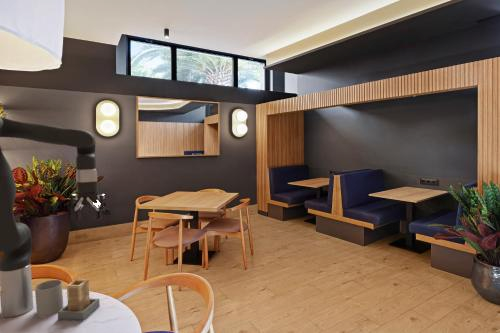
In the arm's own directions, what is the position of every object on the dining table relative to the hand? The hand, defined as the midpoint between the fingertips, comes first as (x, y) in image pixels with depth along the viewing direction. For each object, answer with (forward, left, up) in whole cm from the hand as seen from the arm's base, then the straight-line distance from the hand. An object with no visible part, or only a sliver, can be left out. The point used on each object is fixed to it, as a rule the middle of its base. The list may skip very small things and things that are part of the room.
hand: (89, 219), depth 121 cm
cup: (-15, -3, -32) cm, 36 cm away
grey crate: (-6, -12, -32) cm, 35 cm away
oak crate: (-6, -12, -31) cm, 34 cm away
